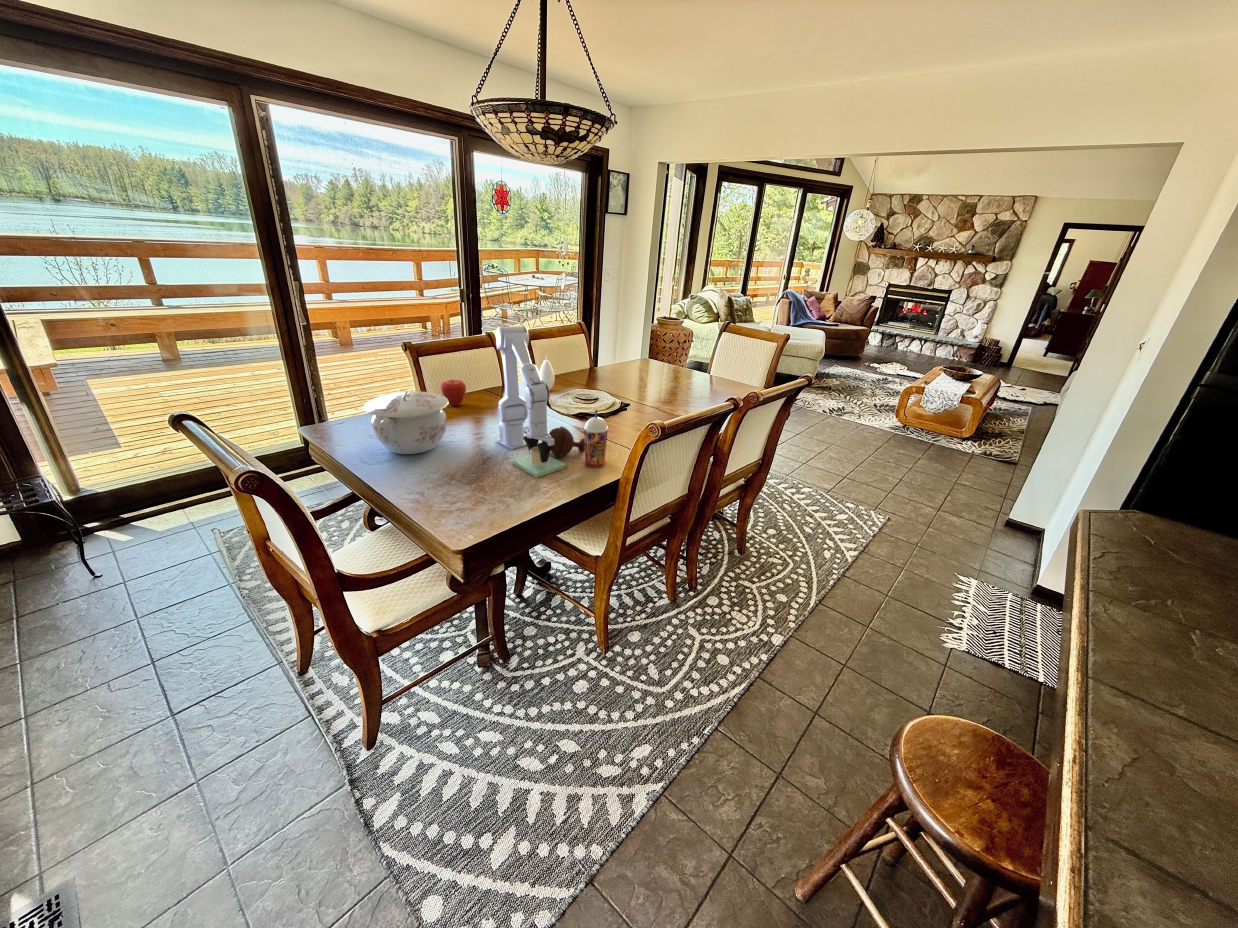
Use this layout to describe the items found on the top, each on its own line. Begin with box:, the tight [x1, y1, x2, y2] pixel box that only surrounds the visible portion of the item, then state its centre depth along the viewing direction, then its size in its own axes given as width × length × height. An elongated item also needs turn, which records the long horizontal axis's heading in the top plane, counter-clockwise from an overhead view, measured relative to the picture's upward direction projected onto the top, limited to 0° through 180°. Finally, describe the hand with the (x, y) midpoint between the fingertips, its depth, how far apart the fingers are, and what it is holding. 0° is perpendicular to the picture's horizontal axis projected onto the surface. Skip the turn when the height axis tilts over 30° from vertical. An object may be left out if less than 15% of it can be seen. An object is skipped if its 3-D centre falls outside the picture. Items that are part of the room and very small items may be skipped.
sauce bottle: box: [538, 355, 556, 391], centre depth 240 cm, size 8×8×18 cm
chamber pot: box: [363, 390, 449, 455], centre depth 170 cm, size 28×28×21 cm
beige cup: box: [529, 446, 547, 466], centre depth 160 cm, size 6×6×5 cm
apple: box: [439, 379, 467, 407], centre depth 215 cm, size 11×11×12 cm
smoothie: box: [583, 409, 609, 468], centre depth 164 cm, size 8×8×20 cm
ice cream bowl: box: [548, 425, 585, 458], centre depth 172 cm, size 11×11×15 cm
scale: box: [512, 454, 566, 479], centre depth 165 cm, size 14×12×3 cm
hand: (539, 458), depth 160 cm, fingers closed on beige cup, 5 cm apart
